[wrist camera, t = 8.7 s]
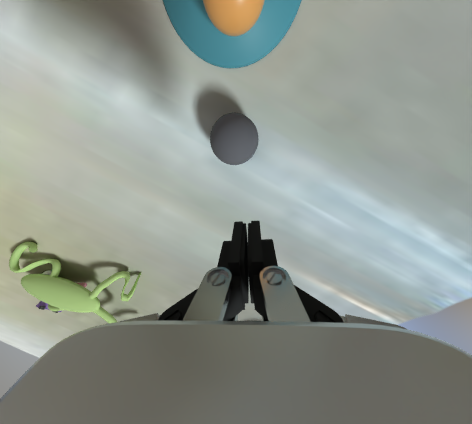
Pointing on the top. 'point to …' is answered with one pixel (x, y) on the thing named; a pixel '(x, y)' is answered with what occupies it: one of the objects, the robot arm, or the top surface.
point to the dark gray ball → (234, 138)
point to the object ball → (233, 15)
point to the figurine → (64, 287)
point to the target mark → (231, 47)
